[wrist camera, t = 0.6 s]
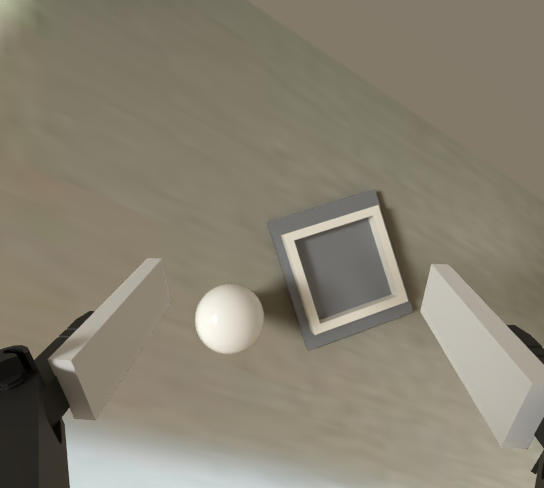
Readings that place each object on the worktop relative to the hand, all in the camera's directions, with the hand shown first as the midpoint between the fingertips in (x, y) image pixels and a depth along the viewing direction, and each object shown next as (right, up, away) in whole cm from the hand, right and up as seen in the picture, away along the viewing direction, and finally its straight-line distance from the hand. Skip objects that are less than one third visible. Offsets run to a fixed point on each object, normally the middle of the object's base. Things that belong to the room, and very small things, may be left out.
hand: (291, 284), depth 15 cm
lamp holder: (+7, -1, +22) cm, 24 cm away
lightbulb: (-6, -5, +21) cm, 22 cm away
